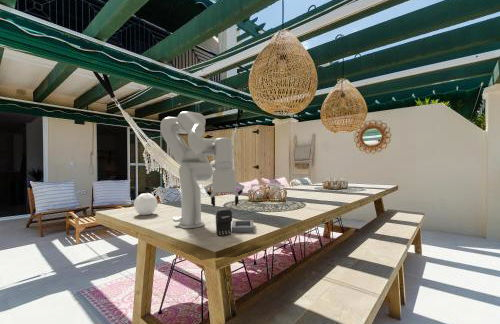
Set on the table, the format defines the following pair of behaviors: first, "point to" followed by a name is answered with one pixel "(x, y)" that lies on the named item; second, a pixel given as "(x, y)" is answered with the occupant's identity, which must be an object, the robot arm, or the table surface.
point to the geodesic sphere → (145, 204)
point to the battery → (223, 222)
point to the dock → (243, 226)
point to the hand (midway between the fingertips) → (225, 205)
